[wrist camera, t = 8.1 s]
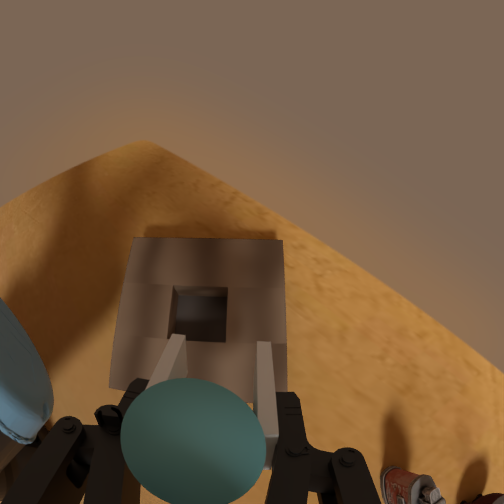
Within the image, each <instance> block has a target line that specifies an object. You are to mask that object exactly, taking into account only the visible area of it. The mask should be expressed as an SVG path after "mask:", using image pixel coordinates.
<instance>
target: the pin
mask: <svg viewBox="0 0 504 504" xmlns="http://www.w3.org/2000/svg"><path fill="white" fill-rule="evenodd" d="M121 448H122V452H123V456H124V459H125V461H126V463H127V466H128V467H129V469H130V471H131V472H132V474H133V475H134V477H135V478H136V479H137V480H138V482H139V483H140V484H141V485H142V486H143V487H144V488H146V489H147V490H148V491H149V492H151V493H152V494H153V495H155V496H157V497H158V498H160V499H162V500H164V501H166V502H168V503H171V504H228V503H231V502H233V501H235V500H236V499H238V498H240V497H241V496H243V495H244V494H245V493H246V492H248V491H249V490H250V489H251V487H252V486H253V485H254V484H255V483H256V481H257V480H258V478H259V476H260V474H261V472H262V470H263V467H264V463H265V458H266V442H265V436H264V433H263V429H262V427H261V425H260V422H259V420H258V418H257V417H256V415H255V414H254V412H253V411H252V410H251V408H250V407H249V406H248V405H247V404H246V403H245V402H244V401H243V400H242V399H241V398H240V397H238V396H237V395H236V394H234V393H233V392H232V391H230V390H228V389H226V388H224V387H223V386H220V385H218V384H215V383H213V382H209V381H206V380H201V379H195V378H176V379H171V380H166V381H163V382H160V383H157V384H155V385H153V386H151V387H149V388H148V389H146V390H144V391H143V392H142V393H141V394H140V395H138V396H137V397H136V398H135V400H134V401H133V402H132V403H131V405H130V406H129V408H128V409H127V411H126V414H125V416H124V418H123V422H122V426H121Z"/></svg>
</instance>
